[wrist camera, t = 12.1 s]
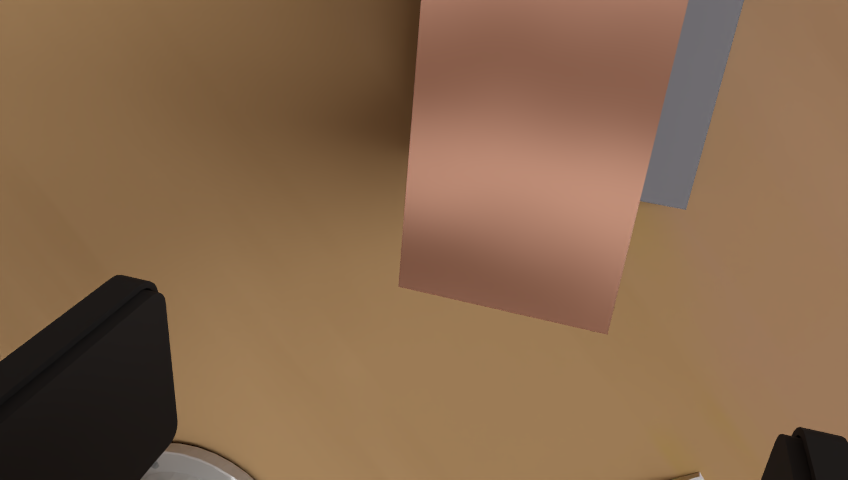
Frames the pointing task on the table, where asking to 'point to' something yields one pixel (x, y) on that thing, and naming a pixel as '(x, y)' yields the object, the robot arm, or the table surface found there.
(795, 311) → the table surface
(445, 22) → the pink elongated block
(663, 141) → the peg stand
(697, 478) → the baseboard
